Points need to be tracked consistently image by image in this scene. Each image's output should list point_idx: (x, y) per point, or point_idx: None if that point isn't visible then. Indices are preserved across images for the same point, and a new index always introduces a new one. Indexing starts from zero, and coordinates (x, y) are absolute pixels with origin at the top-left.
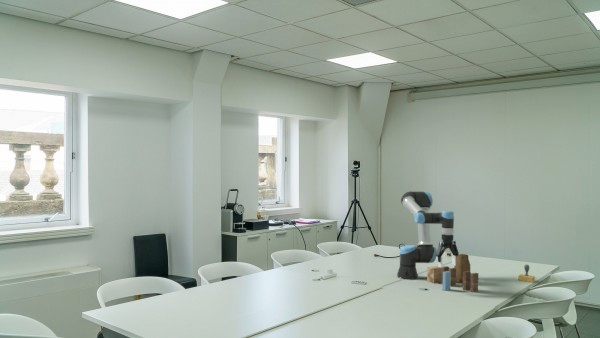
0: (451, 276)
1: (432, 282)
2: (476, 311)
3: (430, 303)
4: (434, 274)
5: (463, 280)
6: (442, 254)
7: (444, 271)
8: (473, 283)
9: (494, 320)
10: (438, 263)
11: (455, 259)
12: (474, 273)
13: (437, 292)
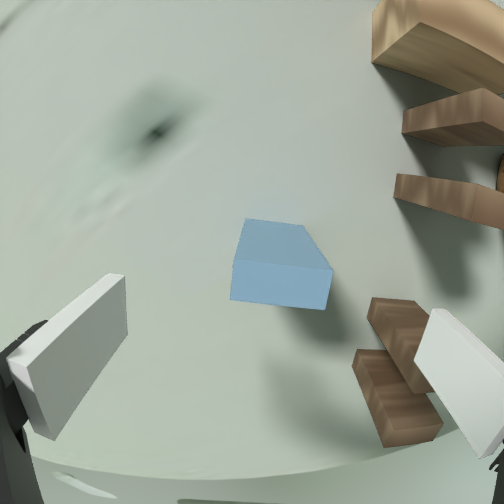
0: (433, 208)
1: (372, 51)
2: (94, 460)
3: (3, 331)
4: (404, 43)
5: (394, 331)
6: (36, 488)
7: (459, 125)
8: (366, 401)
9: (88, 489)
10: (84, 300)
11: (457, 415)
12: (414, 435)
13: (151, 241)
